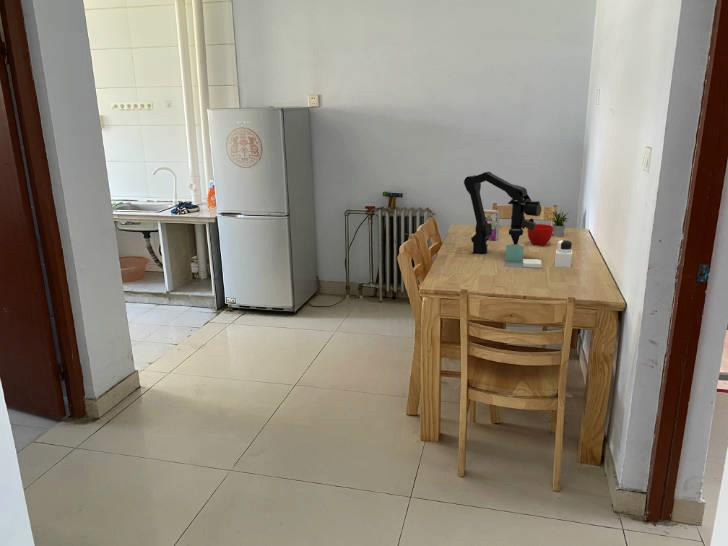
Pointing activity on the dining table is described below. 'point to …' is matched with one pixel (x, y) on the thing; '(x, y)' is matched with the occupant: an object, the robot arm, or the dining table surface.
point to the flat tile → (532, 263)
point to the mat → (515, 264)
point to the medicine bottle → (563, 254)
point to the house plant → (558, 223)
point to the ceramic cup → (540, 234)
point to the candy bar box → (493, 222)
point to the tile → (514, 252)
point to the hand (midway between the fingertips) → (515, 246)
